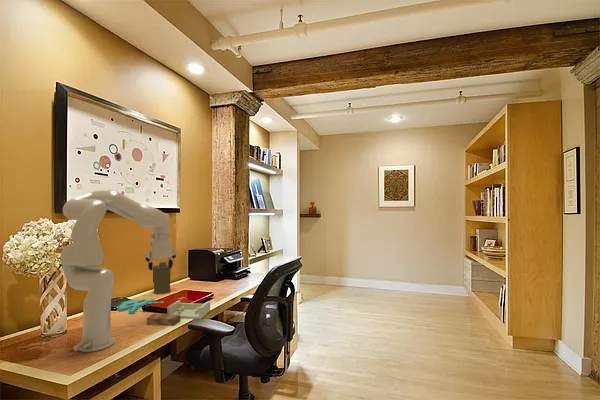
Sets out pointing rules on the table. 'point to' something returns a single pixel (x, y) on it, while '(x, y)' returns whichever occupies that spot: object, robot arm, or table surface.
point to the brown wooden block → (163, 319)
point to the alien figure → (135, 305)
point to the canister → (161, 278)
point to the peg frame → (189, 309)
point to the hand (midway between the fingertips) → (160, 268)
